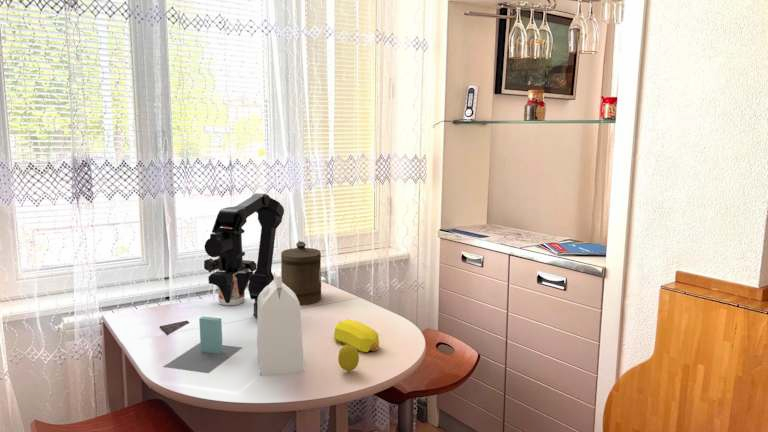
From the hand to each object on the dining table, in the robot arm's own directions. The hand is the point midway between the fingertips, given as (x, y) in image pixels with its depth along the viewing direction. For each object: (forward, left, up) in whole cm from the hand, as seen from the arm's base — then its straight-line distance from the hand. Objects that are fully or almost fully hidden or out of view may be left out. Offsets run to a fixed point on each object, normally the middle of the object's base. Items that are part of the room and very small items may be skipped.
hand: (234, 298), depth 180 cm
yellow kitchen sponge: (-27, +27, -12) cm, 40 cm away
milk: (-2, +27, -12) cm, 30 cm away
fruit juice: (-11, -33, -12) cm, 37 cm away
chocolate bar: (+13, -12, -13) cm, 22 cm away
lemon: (-15, +42, -12) cm, 47 cm away
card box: (+11, +9, -11) cm, 18 cm away
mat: (+14, +12, -12) cm, 22 cm away
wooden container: (-34, -22, -12) cm, 42 cm away
